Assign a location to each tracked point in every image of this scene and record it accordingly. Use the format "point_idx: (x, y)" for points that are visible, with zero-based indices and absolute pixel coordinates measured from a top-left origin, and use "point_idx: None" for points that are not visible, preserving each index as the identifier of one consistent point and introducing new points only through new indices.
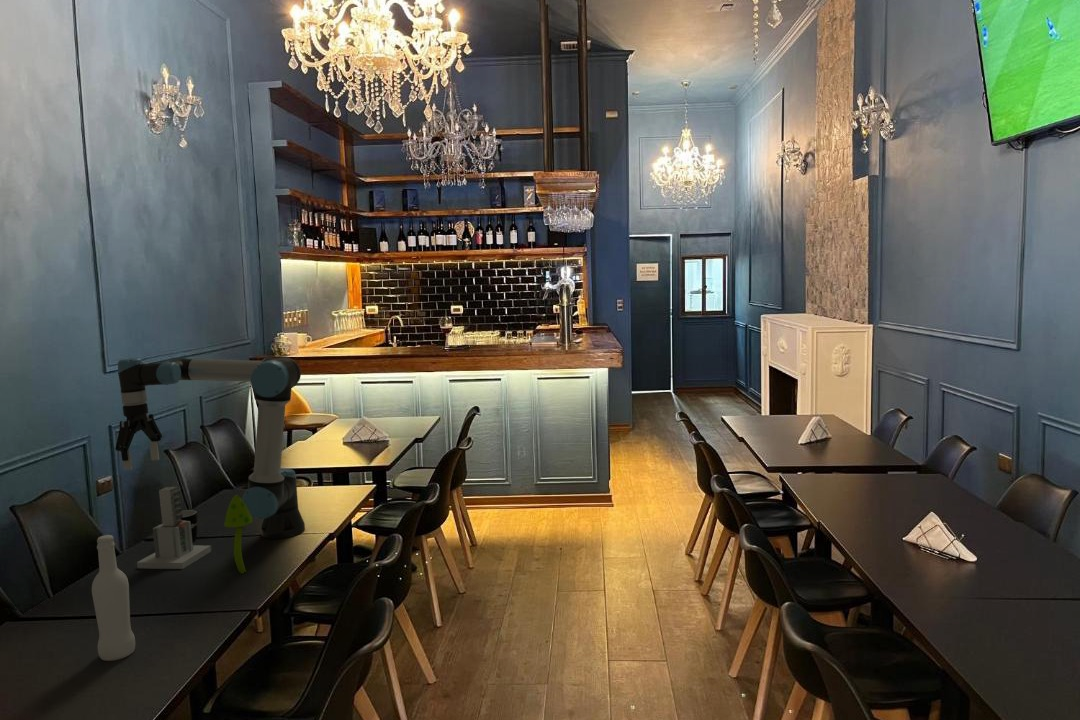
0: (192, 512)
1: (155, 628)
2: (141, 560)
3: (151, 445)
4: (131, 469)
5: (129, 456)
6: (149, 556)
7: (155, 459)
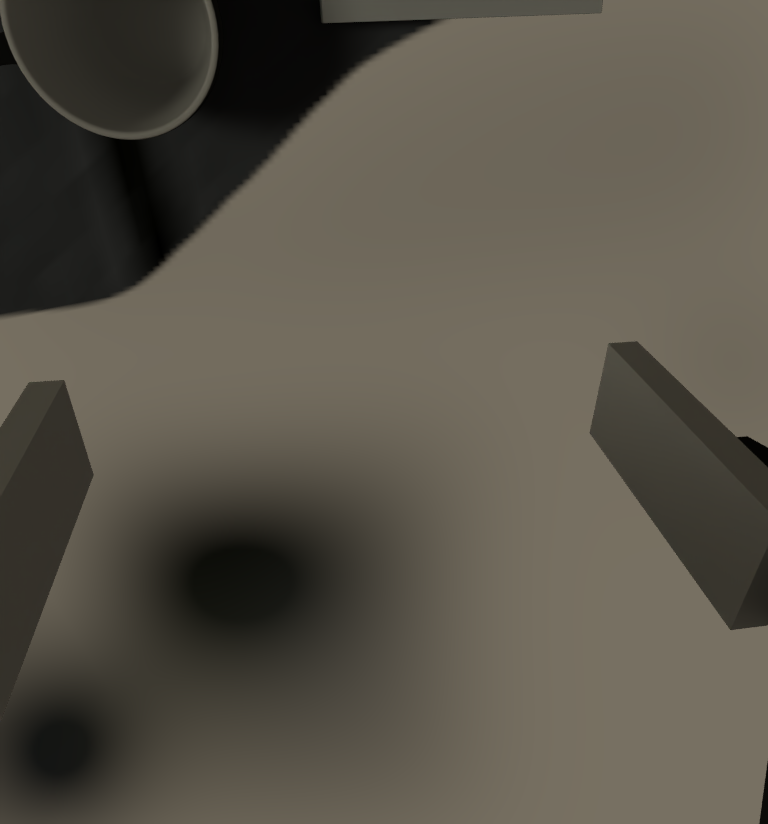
0: (13, 4)
1: None
2: (574, 6)
3: (13, 628)
4: (632, 344)
5: (746, 451)
6: (513, 2)
7: (73, 424)
